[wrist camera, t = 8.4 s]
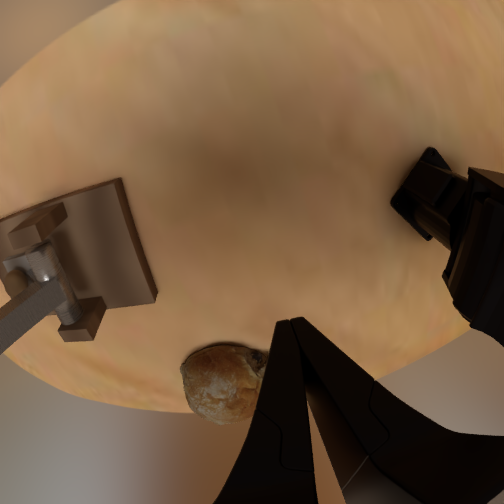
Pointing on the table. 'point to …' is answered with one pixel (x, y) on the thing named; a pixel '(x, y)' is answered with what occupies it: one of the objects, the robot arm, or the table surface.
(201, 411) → the bread roll
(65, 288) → the lever
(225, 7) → the table surface
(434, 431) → the robot arm
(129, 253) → the base
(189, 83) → the table surface
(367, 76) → the table surface
